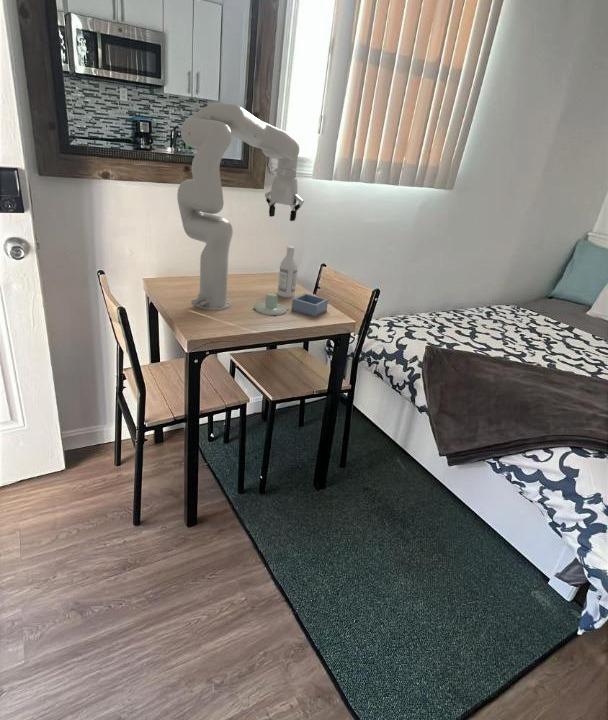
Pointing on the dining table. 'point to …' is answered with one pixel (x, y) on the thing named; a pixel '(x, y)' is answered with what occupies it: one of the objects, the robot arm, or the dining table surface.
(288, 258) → the bath foam
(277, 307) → the lid
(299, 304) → the dish
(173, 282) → the dining table surface
